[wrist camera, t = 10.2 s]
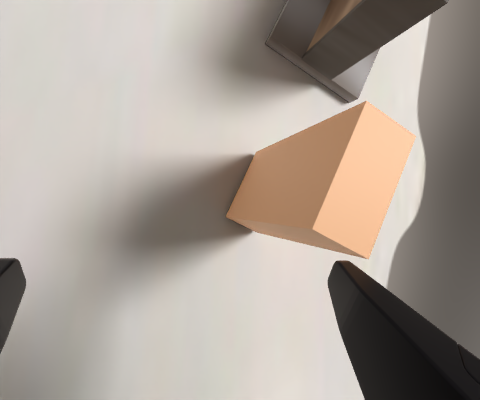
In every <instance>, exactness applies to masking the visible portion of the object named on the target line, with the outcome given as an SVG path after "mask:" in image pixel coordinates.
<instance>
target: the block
mask: <svg viewBox="0 0 480 400" xmlns="http://www.w3.org/2000/svg"><path fill="white" fill-rule="evenodd" d="M415 138H416V136H415V135H414V134H412V133H411V132H409V131H408V130H407V129H405V128H404V127H403V126H401V125H400V124H398V123H397V122H396V121H394V120H393V119H391V118H390V117H389V116H387V115H386V114H384V113H383V112H382V111H380V110H379V109H377V108H376V107H375V106H373V105H372V104H370V103H369V102H368V101H365V102H363V103H361V104H359V105H356V106H354V107H352V108H350V109H348V110H346V111H344V112H341V113H339V114H337V115H335V116H333V117H331V118H329V119H326V120H324V121H322V122H320V123H318V124H316V125H313V126H311V127H309V128H307V129H305V130H303V131H301V132H298V133H296V134H294V135H292V136H290V137H288V138H286V139H283V140H281V141H279V142H277V143H275V144H273V145H270V146H268V147H266V148H264V149H262V150H260V151H258V152H256V153H255V156H254V158H253V160H252V162H251V164H250V166H249V168H248V170H247V172H246V175H245V177H244V179H243V181H242V183H241V185H240V187H239V189H238V191H237V194H236V196H235V198H234V200H233V202H232V204H231V206H230V208H229V211H228V213H227V215H226V217H227V218H229V219H231V220H233V221H235V222H237V223H239V224H241V225H243V226H245V227H247V228H249V229H251V230H253V231H255V232H257V233H261V234H266V235H270V236H274V237H278V238H282V239H286V240H291V241H295V242H299V243H303V244H307V245H311V246H316V247H320V248H324V249H328V250H332V251H336V252H341V253H345V254H349V255H353V256H357V257H361V258H366V259H369V257H370V254H371V252H372V249H373V246H374V244H375V241H376V239H377V236H378V233H379V231H380V228H381V226H382V223H383V221H384V218H385V215H386V213H387V210H388V208H389V205H390V202H391V200H392V197H393V195H394V192H395V189H396V187H397V184H398V182H399V179H400V177H401V174H402V171H403V169H404V166H405V164H406V161H407V158H408V156H409V153H410V151H411V148H412V146H413V143H414V140H415Z"/></svg>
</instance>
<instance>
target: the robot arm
mask: <svg viewBox="0 0 480 400" xmlns="http://www.w3.org/2000/svg"><path fill="white" fill-rule="evenodd" d="M25 288H26V279H25V276H24V273H23V270H22V267H21V264H20V262H19V260H18V259H15V258H0V353H1V351H2V349H3V347H4V344H5V342H6V340H7V337H8V335H9V332H10V329H11V326H12V324H13V321H14V318H15V315H16V313H17V310H18V307H19V304H20V302H21V299H22V296H23V294H24V291H25ZM328 288H329V292H330V296H331V300H332V304H333V308H334V312H335V316H336V319H337V323H338V327H339V330H340V333H341V336H342V339H343V342H344V345H345V347H346V350H347V353H348V355H349V358H350V361H351V363H352V366H353V369H354V372H355V374H356V377H357V380H358V382H359V385H360V388H361V390H362V393H363V396H364V398H365V400H480V359H478V358H477V357H476V356H474V355H473V354H472V353H470V352H469V351H468V350H467V349H465V348H464V347H462V346H461V345H460V344H457V342H456V341H454V340H453V339H452V338H450V337H449V336H448V335H447V334H445V333H444V332H443V331H441V330H440V329H439V328H437V327H436V326H435V325H433V324H432V323H430V322H429V321H428V320H427V319H425V318H424V317H423V316H421V315H420V314H419V313H417V312H416V311H414V310H413V309H412V308H411V307H409V306H408V305H407V304H405V303H404V302H403V301H402V300H400V299H399V298H398V297H396V296H395V295H394V294H392V293H391V292H390V291H388V290H387V289H386V288H384V287H383V286H382V285H380V284H379V283H378V282H376V281H375V280H374V279H372V278H371V277H370V276H368V275H367V274H366V273H364V272H363V271H362V270H360V269H359V268H358V267H357V266H355V265H354V264H353V263H351V262H350V261H336V262H335V263H334V265H333V267H332V270H331V273H330V275H329V278H328Z"/></svg>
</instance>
